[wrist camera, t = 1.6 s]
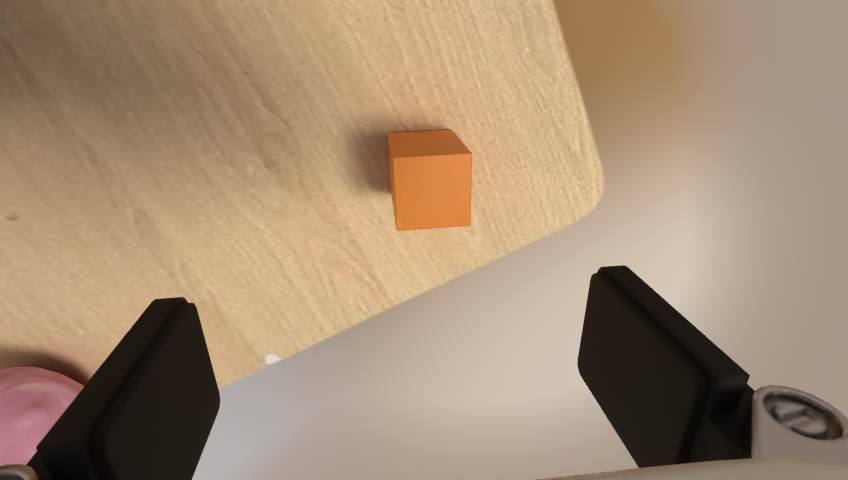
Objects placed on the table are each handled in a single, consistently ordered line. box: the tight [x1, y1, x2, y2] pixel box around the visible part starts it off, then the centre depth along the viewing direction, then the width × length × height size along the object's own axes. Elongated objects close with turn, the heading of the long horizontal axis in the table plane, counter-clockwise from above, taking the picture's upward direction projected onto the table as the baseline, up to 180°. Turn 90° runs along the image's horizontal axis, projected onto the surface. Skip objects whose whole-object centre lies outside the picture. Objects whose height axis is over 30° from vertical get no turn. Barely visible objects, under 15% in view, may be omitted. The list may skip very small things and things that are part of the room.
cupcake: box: [0, 367, 84, 466], centre depth 30 cm, size 9×9×10 cm
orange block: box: [388, 130, 472, 231], centre depth 26 cm, size 4×4×6 cm
